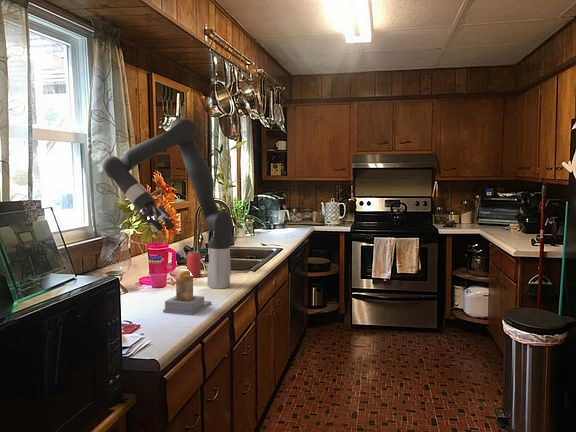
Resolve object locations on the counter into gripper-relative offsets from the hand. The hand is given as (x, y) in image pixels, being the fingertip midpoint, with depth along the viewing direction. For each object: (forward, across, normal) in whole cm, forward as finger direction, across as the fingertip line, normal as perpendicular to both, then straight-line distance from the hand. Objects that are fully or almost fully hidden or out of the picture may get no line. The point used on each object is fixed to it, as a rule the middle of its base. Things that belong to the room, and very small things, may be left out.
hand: (167, 228), depth 196 cm
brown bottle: (+27, -7, +12) cm, 31 cm away
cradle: (+28, -5, +13) cm, 31 cm away
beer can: (+12, +47, +29) cm, 56 cm away
